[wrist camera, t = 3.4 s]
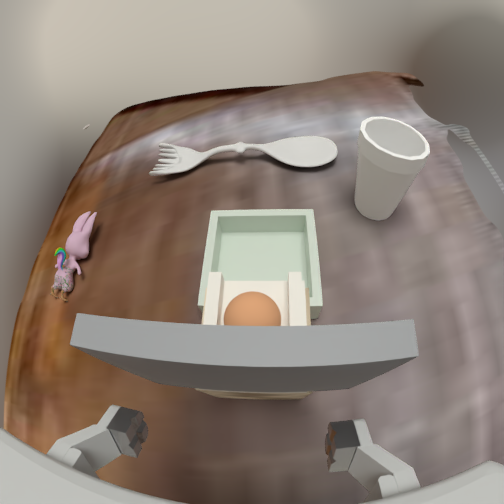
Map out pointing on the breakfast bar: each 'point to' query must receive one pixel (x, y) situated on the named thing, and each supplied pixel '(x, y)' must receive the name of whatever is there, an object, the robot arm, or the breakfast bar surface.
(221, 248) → the tray
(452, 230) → the breakfast bar surface
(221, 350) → the lever flap
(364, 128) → the foam cup
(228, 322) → the ball
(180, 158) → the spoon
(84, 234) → the rabbit figure
